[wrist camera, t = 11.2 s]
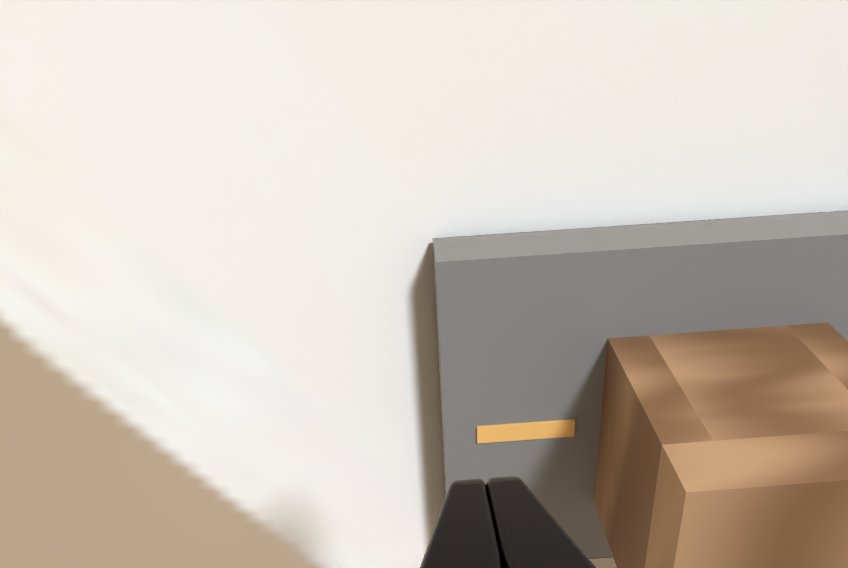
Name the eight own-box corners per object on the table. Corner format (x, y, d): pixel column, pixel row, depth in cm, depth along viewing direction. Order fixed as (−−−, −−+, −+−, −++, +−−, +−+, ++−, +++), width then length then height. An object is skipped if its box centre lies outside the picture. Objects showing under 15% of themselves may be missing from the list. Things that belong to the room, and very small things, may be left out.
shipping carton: (828, 322, 20) (989, 476, 15) (785, 486, 24) (906, 663, 18) (608, 338, 20) (689, 499, 15) (593, 500, 23) (657, 683, 18)
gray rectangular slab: (984, 201, 20) (1028, 223, 19) (877, 503, 26) (905, 537, 25) (432, 238, 20) (436, 263, 19) (447, 535, 26) (450, 571, 25)
